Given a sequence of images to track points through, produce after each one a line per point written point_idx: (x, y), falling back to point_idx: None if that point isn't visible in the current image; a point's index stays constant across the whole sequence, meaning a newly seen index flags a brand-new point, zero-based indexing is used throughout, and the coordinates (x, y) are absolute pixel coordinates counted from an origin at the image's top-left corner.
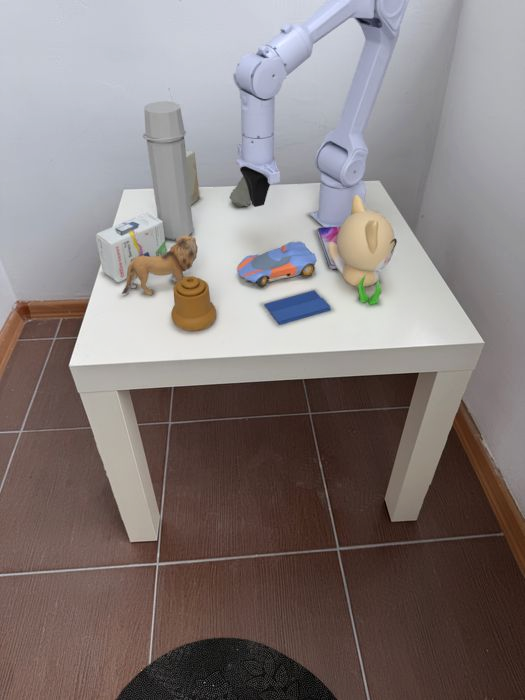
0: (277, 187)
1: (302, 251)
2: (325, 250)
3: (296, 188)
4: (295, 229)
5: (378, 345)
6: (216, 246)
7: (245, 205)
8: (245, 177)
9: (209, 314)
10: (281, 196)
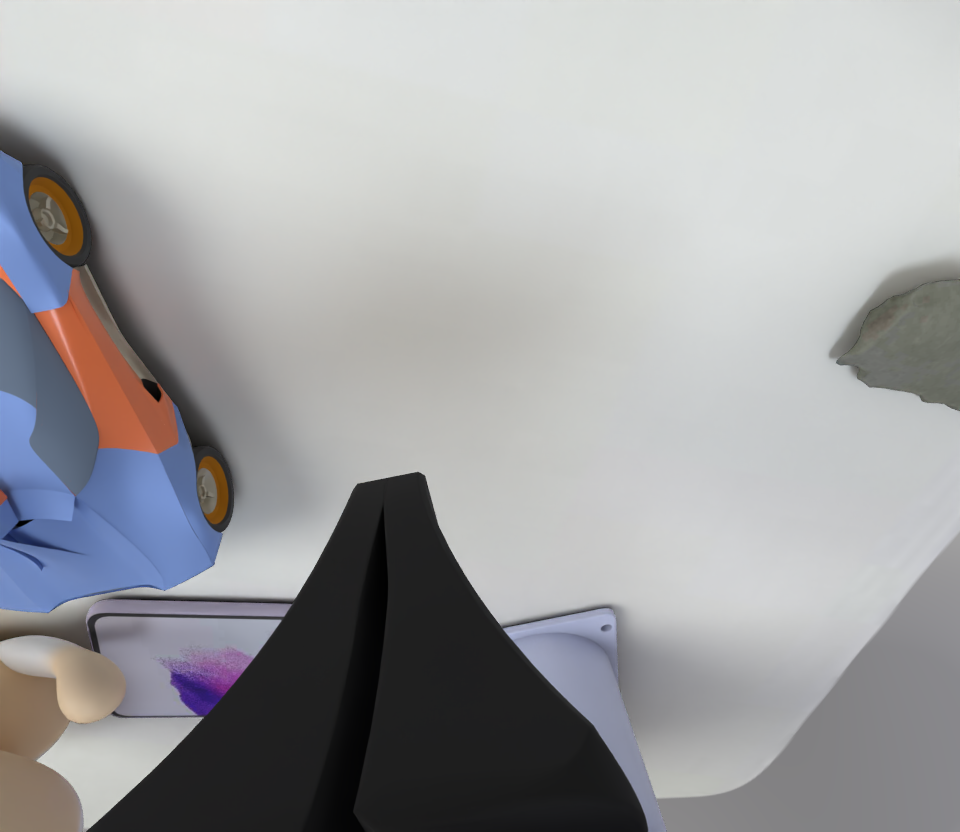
0: (935, 531)
1: (56, 570)
2: (237, 616)
3: (868, 597)
4: (502, 532)
5: None
6: (423, 13)
7: (848, 353)
8: (410, 718)
9: None
10: (842, 532)
